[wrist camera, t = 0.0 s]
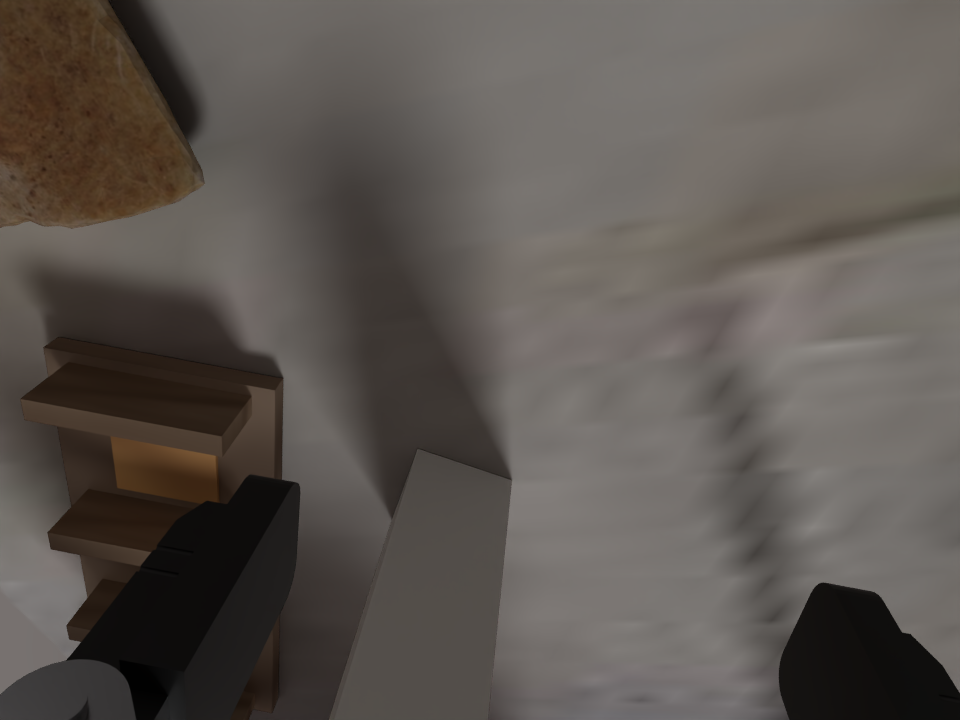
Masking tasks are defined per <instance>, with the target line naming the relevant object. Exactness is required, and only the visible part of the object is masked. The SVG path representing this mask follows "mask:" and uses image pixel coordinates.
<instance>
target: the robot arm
mask: <svg viewBox="0 0 960 720" xmlns="http://www.w3.org/2000/svg"><path fill="white" fill-rule="evenodd" d="M299 506H300V486H299V484H298V483H296V482H291V481H285V480H280V479H275V478H269V477H264V476H259V475H253V474H250V475H248V476H247V477H246V478H245V479H244V481H243V482H242V484H241V485H240V486H239V488H238V489H237V491H236V492H235V494H234V495H233V497H232V498H231V499H230V501H229V502H228V504H223V503H217V502H212V501H205V502H204V503H202V504H201V505H199V506H197V507H196V508H194V509H193V510H191V511H189V512H188V513H186V514H185V515H183V516H181V517H180V518H178V519H177V520H176V521H175V522H174V524H173V525H172V526H171V527H170V529H169V530H168V531H167V533H166V534H165V535H164V536H163V538H162V539H161V540H160V542H159V543H158V544H157V548H156V550H153V551H152V552H151V553H150V554H149V556H148V557H147V558H146V560H145V561H144V562H143V563H142V565H141V567H140V570H139V572H138V571H136V572H135V574H134V575H133V576H132V577H131V579H130V580H129V581H128V583H127V584H126V585H125V586H124V588H123V589H122V590H121V592H120V593H119V594H118V595H117V597H116V598H115V599H114V601H113V602H112V603H111V604H110V606H109V607H108V608H107V610H106V611H105V612H104V613H103V615H102V616H101V617H100V619H99V620H98V621H97V622H96V624H95V625H94V626H93V628H92V629H91V630H90V631H89V633H88V634H87V635H86V637H85V638H84V639H83V640H82V642H81V643H80V644H79V646H78V647H77V648H76V649H75V651H74V652H73V653H72V654H71V655H70V657H69V658H68V659H67V660H66V661H62V662H58V663H54V664H51V665H48V666H45V667H42V668H40V669H38V670H35V671H33V672H31V673H29V674H27V675H26V676H24V677H22V678H21V679H19V680H17V681H16V682H15V683H13V684H12V685H11V686H9V687H8V688H7V689H6V690H5V691H4V692H3V693H1V694H0V720H230V718H231V716H232V714H233V712H234V710H235V707H236V705H237V703H238V701H239V699H240V697H241V695H242V693H243V690H244V688H245V686H246V684H247V682H248V680H249V678H250V676H251V674H252V671H253V669H254V667H255V665H256V663H257V661H258V659H259V657H260V654H261V652H262V650H263V648H264V646H265V644H266V642H267V640H268V638H269V635H270V633H271V631H272V629H273V627H274V625H275V623H276V621H277V618H278V616H279V614H280V612H281V610H282V608H283V606H284V604H285V601H286V599H287V596H288V594H289V591H290V588H291V584H292V581H293V577H294V572H295V567H296V558H297V541H298V523H299ZM779 686H780V692H781V696H782V700H783V703H784V705H785V708H786V711H787V714H788V717H789V720H960V693H959V691H958V690H957V688H956V687H955V685H954V683H953V682H952V680H951V679H950V677H949V675H948V674H947V672H946V671H945V669H944V667H943V666H942V665H941V664H940V663H939V662H938V661H937V660H936V659H935V658H934V657H933V656H932V655H931V654H930V653H929V652H928V651H927V650H926V649H925V648H924V647H923V646H922V645H921V644H920V643H919V642H918V641H917V640H916V639H915V638H914V637H913V636H912V635H911V634H907V633H902V632H901V630H900V628H899V627H898V625H897V623H896V622H895V620H894V618H893V617H892V615H891V613H890V611H889V610H888V608H887V606H886V605H885V603H884V601H883V600H882V599H881V597H880V596H879V595H878V594H876V593H875V592H872V591H867V590H861V589H856V588H850V587H845V586H840V585H834V584H829V583H820V584H818V585H817V586H816V587H815V588H814V589H813V591H812V592H811V594H810V596H809V599H808V601H807V603H806V605H805V607H804V609H803V611H802V613H801V615H800V618H799V620H798V622H797V624H796V626H795V628H794V630H793V632H792V634H791V636H790V639H789V641H788V643H787V645H786V647H785V649H784V651H783V654H782V657H781V661H780V667H779Z"/></svg>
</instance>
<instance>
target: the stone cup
mask: <svg viewBox="0 0 960 720" xmlns="http://www.w3.org/2000/svg"><path fill="white" fill-rule="evenodd" d="M204 184H205V182H204V178H203V173H202V169H201V167H200V165H199V163H198V161H197V159H196V157H195V155H194V153H193V151H192V149H191V147H190V145H189V144H188V142H187V140H186V138H185V137H184V135H183V133H182V131H181V129H180V127H179V126H178V124H177V122H176V120H175V118H174V116H173V114H172V112H171V110H170V108H169V106H168V104H167V102H166V100H165V98H164V96H163V95H162V93H161V91H160V89H159V88H158V86H157V84H156V83H155V81H154V79H153V77H152V76H151V74H150V72H149V71H148V69H147V67H146V66H145V64H144V62H143V60H142V59H141V57H140V55H139V54H138V52H137V50H136V48H135V47H134V45H133V43H132V41H131V40H130V38H129V36H128V34H127V33H126V31H125V29H124V27H123V26H122V24H121V22H120V21H119V19H118V17H117V16H116V14H115V12H114V10H113V9H112V7H111V5H110V3H109V1H108V0H0V228H1V227H4V226H13V225H18V224H21V223H23V222H28V221H32V222H34V223H36V224H39V225H42V226H63V227H67V228H71V229H73V228H78V227H84V226H88V225H93V224H97V223H101V222H106V221H110V220H116V219H122V218H127V217H131V216H135V215H138V214H141V213H144V212H147V211H151V210H154V209H157V208H160V207H163V206H166V205H169V204H172V203H176V202H179V201H180V200H182V199H183V198H184V197H186V196H187V195H189V194H190V193H191V192H193V191H195V190H198V189H199V188H200V187H201V186H203V185H204Z"/></svg>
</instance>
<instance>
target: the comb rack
mask: <svg viewBox="0 0 960 720" xmlns="http://www.w3.org/2000/svg"><path fill="white" fill-rule="evenodd" d="M43 349H44V354H45V360H46V366H47V371H48V378H47V379H45V380H44V381H43V382H42V383H40V384H39V385H38V386H36V387H35V388H34V389H33V390H31V391H30V392H29V393H27V394H26V395H25V396H23V397H22V398H21V399H20V400H21V405H22V410H23V415H24V420H27V421H32V422H38V423H43V424H48V425H54V426H57V428H58V433H59V439H60V445H61V450H62V456H63V462H64V467H65V473H66V479H67V484H68V490H69V496H70V501H71V508H70V509H69V510H68V511H67V512H66V513H65V514H64V515H63V516H62V518H61V519H60V520H59V521H58V522H57V523H56V524H55V525H54V526H53V527H52V528H51V529H50V530H49V532H48V538H49V542H50V547H51V549H52V550H57V551H62V552H68V553H73V554H78V555H80V558H81V564H82V569H83V575H84V581H85V586H86V592H87V599H86V601H85V602H84V603H83V605H82V606H81V607H80V608H79V610H78V611H77V612H76V614H75V615H74V616H73V618H72V619H71V620H70V622H69V623H68V624H67V625H66V626H67V631H68V636H69V640H75V641H80V642H82V640H83V639H84V638H85V637H86V635H87V634H88V633H89V631H90V630H91V629H92V628H93V626H94V625H95V624H96V622H97V621H98V620H99V619H100V617H101V616H102V615H103V613H104V612H105V611H106V610H107V608H108V607H109V606H110V604H111V603H112V602H113V601H114V599H115V598H116V597H117V595H118V594H119V593H120V592H121V590H122V589H123V588H124V586H125V585H126V584H127V583H128V581H129V580H130V579H131V577H132V576H133V575H134V574H135V572H136V571H138V572H139V570H140V567H141V565H142V563H143V562H144V561H145V560H146V558H147V557H148V556H149V554H150V553H151V552H152V551H153V550H156V548H157V544H158V543H159V542H160V540H161V539H162V538H163V536H164V535H165V534H166V533H167V531H168V530H169V529H170V527H171V526H172V525H173V524H174V522H175V521H176V520H177V519H178V518H180V517H181V516H183V515H185V514H186V513H188V512H189V511H191V510H193V509H194V508H196V507H197V506H199V505H201V504H202V503H204V502H205V501H212V502H217V503H223V504H228V502H229V501H230V499H231V498H232V497H233V495H234V494H235V492H236V491H237V489H238V488H239V486H240V485H241V484H242V482H243V481H244V479H245V478H246V477H247V476H248V475H250V474H253V475H259V476H264V477H269V478H275V479H280V480H282V426H283V378H277V377H272V376H266V375H261V374H256V373H250V372H245V371H239V370H234V369H229V368H223V367H218V366H212V365H207V364H202V363H196V362H191V361H185V360H180V359H175V358H169V357H164V356H158V355H153V354H147V353H142V352H137V351H131V350H126V349H120V348H115V347H110V346H104V345H99V344H93V343H88V342H83V341H77V340H72V339H66V338H61V337H58V338H56V339H55V340H53V341H52V342H50V343H49V344H48V345H46V346H45V347H43ZM279 623H280V614H279V616H278V618H277V621H276V623H275V625H274V627H273V629H272V631H271V633H270V635H269V638H268V640H267V642H266V644H265V646H264V648H263V650H262V652H261V654H260V657H259V659H258V661H257V663H256V665H255V667H254V669H253V671H252V674H251V676H250V678H249V680H248V682H247V684H246V686H245V688H244V690H243V693H242V695H241V697H240V699H239V701H238V703H237V705H236V707H235V710H234V712H233V714H232V716H231V718H230V720H249V717H250V715H251V713H252V710H253V709H254V710H259V711H264V712H269V713H272V712H273V710H274V707H275V705H276V702H277V700H278V689H279Z"/></svg>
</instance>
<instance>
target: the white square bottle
mask: <svg viewBox="0 0 960 720" xmlns="http://www.w3.org/2000/svg"><path fill="white" fill-rule="evenodd" d="M511 485H512V480H510V479H507V478H504V477H501V476H498V475H495V474H492V473H489V472H486V471H483V470H480V469H477V468H474V467H471V466H468V465H465V464H462V463H459V462H456V461H453V460H450V459H447V458H444V457H441V456H438V455H435V454H432V453H429V452H426V451H423V450H420V449H417V452H416V454H415V457H414V460H413V463H412V465H411V468H410V471H409V474H408V476H407V479H406V482H405V485H404V487H403V490H402V493H401V496H400V498H399V501H398V504H397V507H396V509H395V512H394V515H393V518H392V520H391V524H390V527H389V530H388V533H387V536H386V540H385V543H384V546H383V549H382V552H381V555H380V559H379V562H378V565H377V568H376V571H375V574H374V578H373V581H372V584H371V587H370V590H369V593H368V597H367V600H366V603H365V606H364V609H363V612H362V616H361V619H360V622H359V625H358V628H357V631H356V635H355V638H354V641H353V644H352V647H351V650H350V654H349V657H348V660H347V663H346V666H345V670H344V673H343V676H342V679H341V682H340V685H339V689H338V692H337V695H336V698H335V701H334V704H333V708H332V711H331V714H330V717H329V720H488V715H489V705H490V695H491V685H492V675H493V665H494V655H495V645H496V635H497V625H498V615H499V605H500V595H501V585H502V575H503V565H504V555H505V545H506V535H507V525H508V515H509V505H510V495H511Z"/></svg>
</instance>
